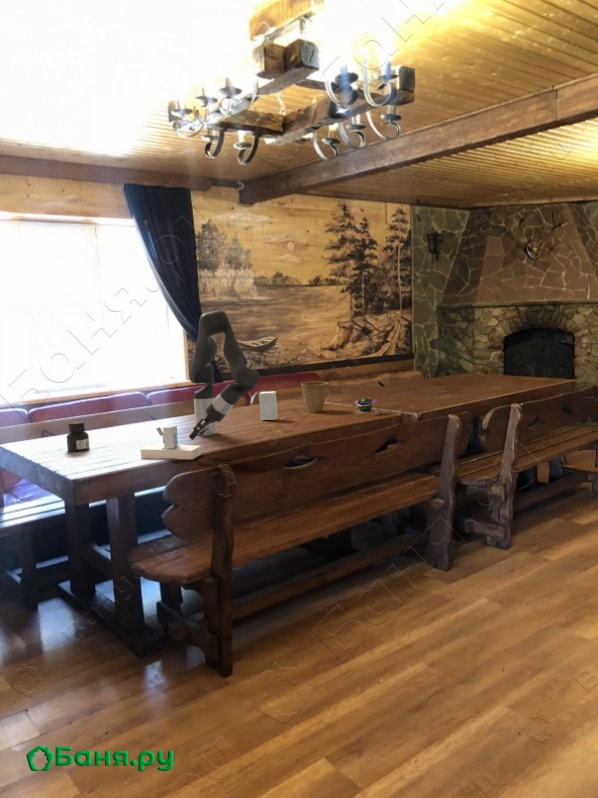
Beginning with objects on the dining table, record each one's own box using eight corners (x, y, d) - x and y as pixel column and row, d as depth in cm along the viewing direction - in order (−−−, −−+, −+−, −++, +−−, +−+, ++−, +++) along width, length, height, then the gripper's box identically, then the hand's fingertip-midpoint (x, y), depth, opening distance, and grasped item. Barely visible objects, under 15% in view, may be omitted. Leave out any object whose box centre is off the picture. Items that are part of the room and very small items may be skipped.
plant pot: (300, 410, 359) (299, 382, 357) (326, 408, 360) (325, 381, 358) (303, 414, 344) (302, 385, 342) (330, 412, 346) (329, 383, 343)
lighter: (172, 442, 281) (170, 424, 279) (173, 442, 279) (172, 424, 278) (156, 444, 277) (155, 426, 276) (158, 444, 275) (156, 426, 274)
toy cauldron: (346, 414, 339) (346, 394, 337) (360, 410, 351) (360, 391, 349) (371, 416, 330) (370, 396, 329) (384, 412, 342) (384, 392, 341)
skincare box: (278, 419, 331) (277, 391, 329) (275, 421, 325) (274, 392, 323) (262, 419, 333) (261, 391, 331) (259, 421, 327) (258, 392, 325)
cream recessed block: (151, 452, 260) (151, 444, 259) (201, 454, 254) (201, 445, 254) (141, 457, 251) (140, 449, 251) (192, 459, 246) (191, 450, 245)
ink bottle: (82, 452, 264) (80, 424, 263) (63, 452, 266) (60, 424, 264) (93, 447, 274) (91, 420, 272) (75, 447, 275) (72, 420, 274)
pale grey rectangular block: (170, 454, 256) (169, 425, 254) (178, 454, 255) (176, 425, 253) (164, 457, 251) (163, 427, 249) (172, 457, 250) (171, 427, 248)
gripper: (220, 397, 252) (195, 425, 256) (206, 403, 238) (180, 433, 243) (233, 410, 251) (209, 438, 256) (220, 417, 238) (194, 446, 242)
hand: (195, 435), depth 249 cm, fingers open, 8 cm apart
